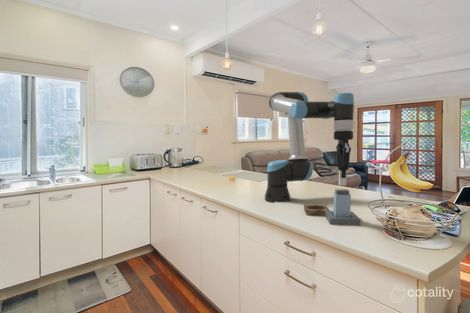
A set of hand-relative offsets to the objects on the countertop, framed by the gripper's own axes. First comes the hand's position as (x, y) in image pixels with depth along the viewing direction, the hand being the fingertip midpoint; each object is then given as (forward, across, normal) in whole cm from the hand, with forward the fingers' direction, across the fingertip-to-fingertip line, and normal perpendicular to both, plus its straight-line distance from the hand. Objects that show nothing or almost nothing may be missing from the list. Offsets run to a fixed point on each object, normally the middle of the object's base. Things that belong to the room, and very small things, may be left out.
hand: (342, 184), depth 106 cm
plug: (+16, 0, 0) cm, 16 cm away
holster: (+16, +10, +9) cm, 21 cm away
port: (+17, 0, 0) cm, 17 cm away
